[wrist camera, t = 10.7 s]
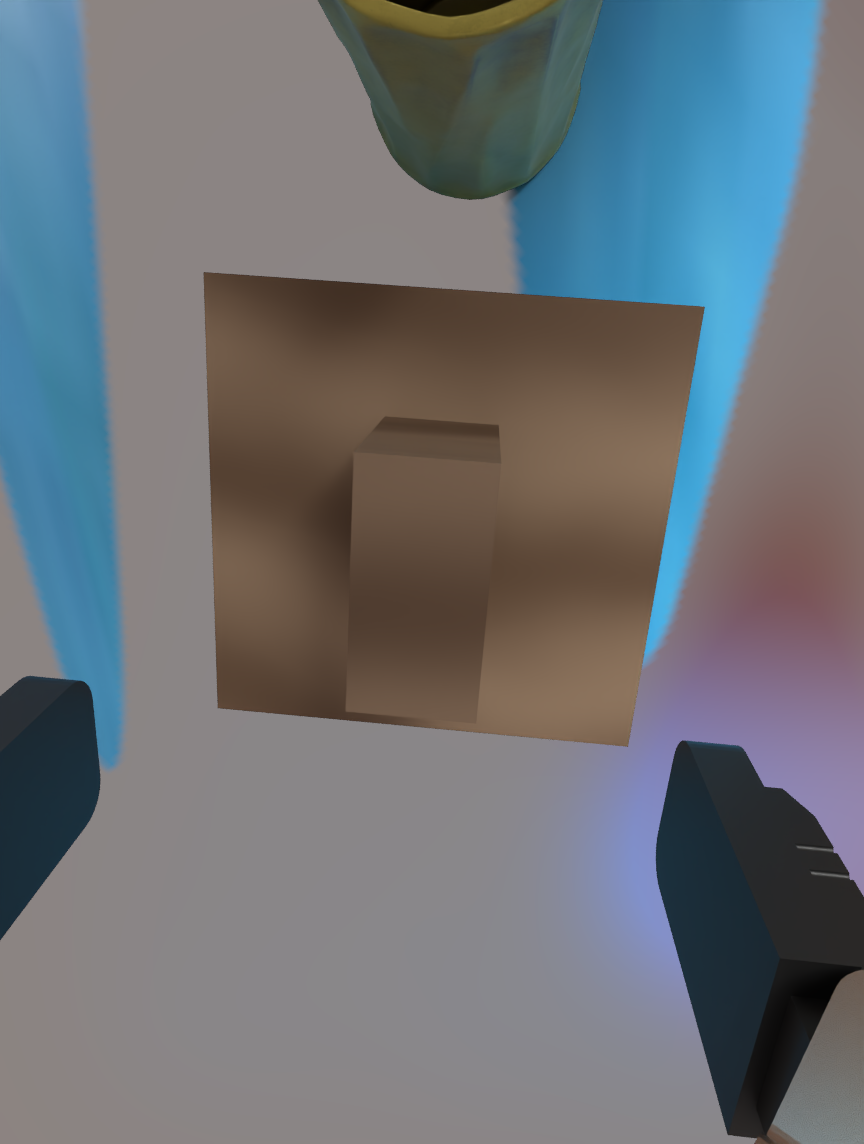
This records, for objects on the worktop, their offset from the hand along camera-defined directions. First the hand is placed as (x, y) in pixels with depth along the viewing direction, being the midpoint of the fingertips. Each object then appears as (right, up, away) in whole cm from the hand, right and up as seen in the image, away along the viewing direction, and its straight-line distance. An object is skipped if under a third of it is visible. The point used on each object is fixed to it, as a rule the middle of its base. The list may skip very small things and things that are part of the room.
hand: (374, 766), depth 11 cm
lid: (+1, +4, +12) cm, 12 cm away
